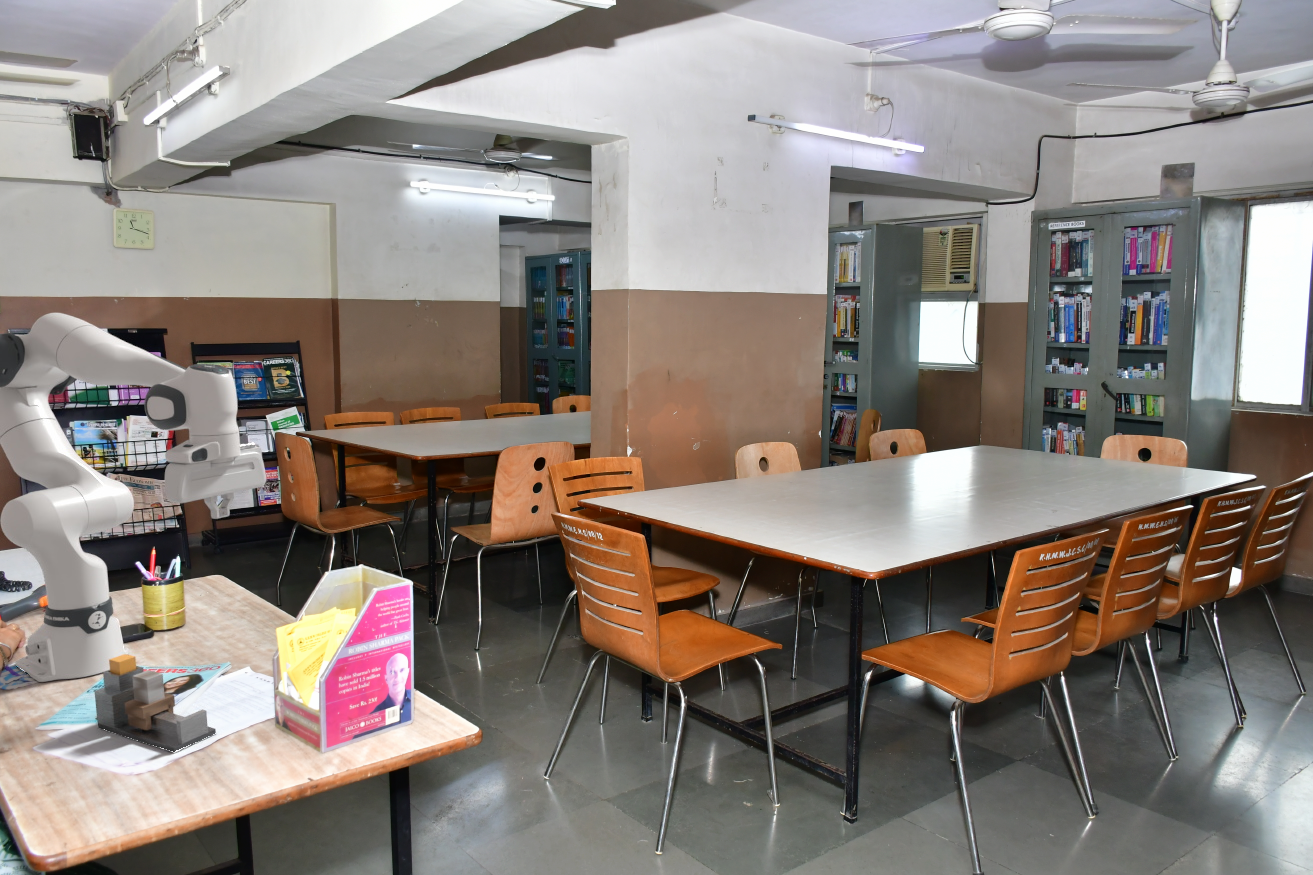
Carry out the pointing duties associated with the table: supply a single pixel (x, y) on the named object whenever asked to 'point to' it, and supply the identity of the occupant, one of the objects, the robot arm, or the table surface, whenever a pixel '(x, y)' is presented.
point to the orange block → (122, 664)
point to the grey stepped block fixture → (165, 725)
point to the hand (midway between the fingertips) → (220, 517)
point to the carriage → (148, 699)
